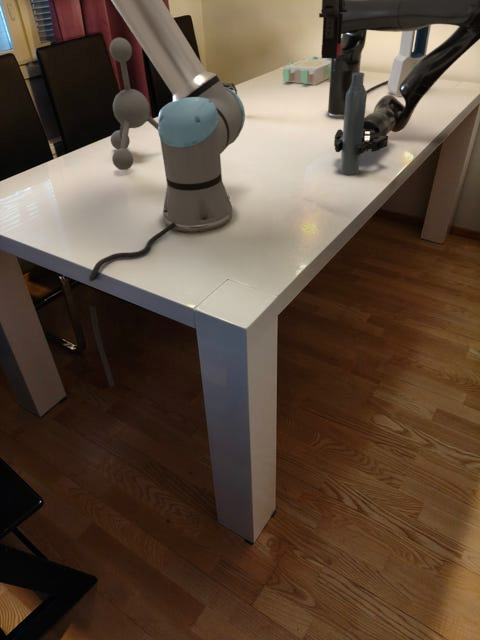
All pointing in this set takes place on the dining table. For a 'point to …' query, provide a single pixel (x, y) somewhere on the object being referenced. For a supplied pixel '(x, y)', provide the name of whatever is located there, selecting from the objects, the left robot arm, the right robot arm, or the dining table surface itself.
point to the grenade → (230, 86)
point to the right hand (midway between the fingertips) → (347, 149)
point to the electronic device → (408, 57)
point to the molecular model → (127, 108)
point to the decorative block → (308, 71)
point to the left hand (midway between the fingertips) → (331, 55)
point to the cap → (338, 49)
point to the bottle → (353, 125)
